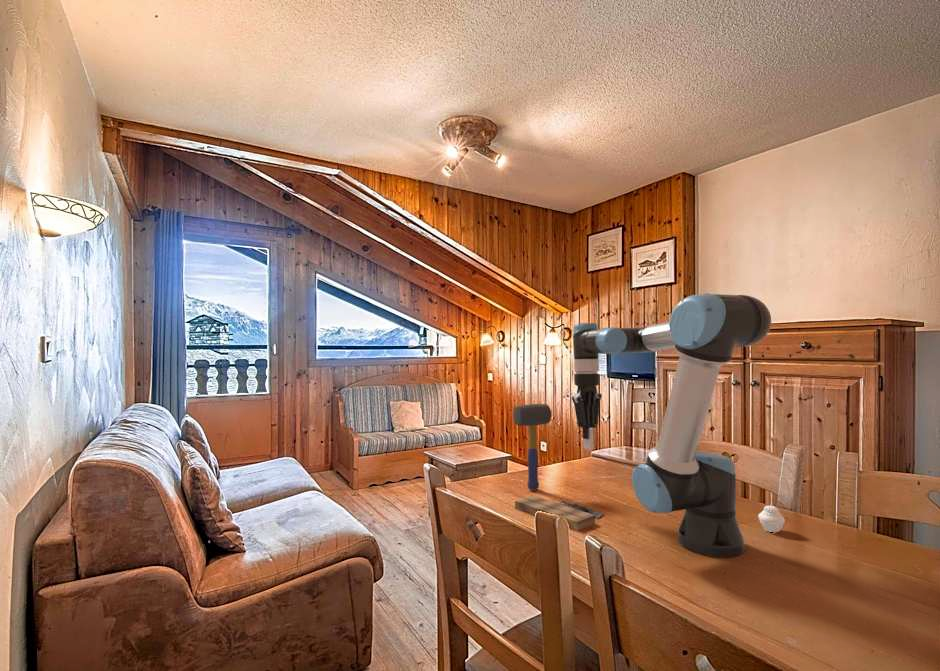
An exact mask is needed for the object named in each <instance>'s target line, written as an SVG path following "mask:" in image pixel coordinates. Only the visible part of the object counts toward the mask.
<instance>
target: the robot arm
mask: <svg viewBox="0 0 940 671" xmlns="http://www.w3.org/2000/svg"><path fill="white" fill-rule="evenodd" d="M771 325H772V316H771V312H770V310H769V308H768V307H767V306H766V305H765V303H763V301H761V300H760V299H758V298H756V297H754V296H750V295H745V294H720V293H719V294H717V293H713V294H712V293H702V294H701V293H700V294H693V295H692V294H691V295H690V296H686V297H684V298H683V299H682V300H681V301H679V302H678V303H677V304H676V305H675V307H674V308H673V310H672V311H671V314H670V316H669V321H667V322H666V321H665V322H660V323H656V324H652V325H646V326H641V327H613V326H612V327H609V326H607V327H603V328H602V327H601V328H599V327H598V324H597V323H596V322H581V323H575V324H574V325H573V328H572V329H573V330H572V331H573V333H572V334H573V335H572V343H573V345H572V348H573V362H574V363H573V366H574V367H573V370H574V372H575V373H574V375H573V378H574V379H573V380H574V385H575V386H577V390H576V395H573V396H572V397H571V400H572V403H573V404H574V412H575V416H576V423H577V427H579V428H581V429H582V441H583V442H582V443H583V444H582V445H583V450H589V451H591V450H594V448H595V447H594V446H595V445H594V435H595V434H594V432H595V431H594V428H597V427H598V424H599V415H600V408H601V407H600V406H601V404H600V403H601V400H602V397H603V396H602V393H599V392H598V389H597V386H599V385H600V374H599V373H598V372H599V371H600V363H599V362H600V361H599V354H600V355H601V354H603V355H615V354H639V353H641V354H651V353H656V352H658V351H664V350H671V349H672V350H673V349H674V350H675V352H676V353H677V354H678V356H679V358H678V362H677V365H676V366H677V367H676V370H675V375H674V378H673V381H672V382H673V383H672V385H671V386H672V387H671V390H670V395H669V397H668V398H669V399H668V400H667V405H666V408H665V409H666V410H665V413H664V417H663V421H662V424H661V429H660V434H659V437H658V441H657V444H656V446H653V447H652V448H650V449H649V451H648V452H647V457H646V460H645V463H640V464H638V465H636V466H635V467H634V469H633V470H632V475H631V484H632V488H633V491H634V494H635V496H636V498H637V500H638V502H639V503H640V504H641V506H643V507H644V508H645V509H646V510H647V511H649V512H650V513H653V514H668V513H673V512H678V511H682V510H684V512H683V513H684V514H683V516H682V519H681V522H680V525H679V528H678V531H677V532H678V533H677V539H678V540H677V541H678V542H679V544H680V545H681V546H683V547H684V548H685V549H687V550H689V551H691V552H694V553H697V554H699V555H700V554H701V555H705V556H710V557H718V558H731V557H737V556H740V555H742V554H743V553H745V539H744V536H743V534H742V532H741V529H740V526H739V523H738V520H737V517H736V516H737V515H736V511H737V509H736V508H737V507H736V506H737V504H736V502H737V501H736V493H737V492H736V490H737V489H736V487H737V486H736V481H737V480H736V479H737V478H736V477H737V474H736V469H735V468H736V466H735V462H734V460H733V459H732V458H730V457H728V456H725V455H722V454H717V453H714V452H707V451H701V450H698V449H699V448H698V447H699V444H700V441H701V436H702V434H703V429H704V426H705V422H706V419H707V415H708V412H709V409H710V405H711V402H712V399H713V396H714V391H715V388H716V384H717V380H718V376H719V374H720V371H721V367H722V366H724V365H727V364H729V363H730V362H731V361H732V357H733V353H734V351H735V350H734V349H735V348H741V347H749V346H754V345H756V344H757V343H759V342H762V341H763V339H765V337H767V335H768V334H769V332H770V329H771V327H772V326H771Z"/></svg>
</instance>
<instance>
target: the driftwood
mask: <svg viewBox="0 0 940 671" xmlns="http://www.w3.org/2000/svg"><path fill="white" fill-rule="evenodd" d="M561 502H562V503H564V504H566V505H567V507H571V508H574V509H577V510H580V511H583V512H586V513H589V514H592V515H595V519H597V520H598V519H599V518H600V517H601V516H604V513H602V512H601V511H598V510H596V509H593V508H590V507H586V506H582V505H579V503H578V504H577V503H571V502H567V501H565V500H561ZM562 503H561V504H562Z"/></svg>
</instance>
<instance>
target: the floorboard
mask: <svg viewBox="0 0 940 671" xmlns="http://www.w3.org/2000/svg"><path fill="white" fill-rule="evenodd" d="M514 509H515V510H519V511H521V512H523V513H526V514H530V515H532V516H534V517H536V516H535V513H536V512H537V511H542V512H546V513H550V514H555V515H558V516H561V517H563V518H565V519H566V520H567V522H568V524H569V528H568V529H570V528H571V530H573V529H574V531H577V532H578V531H580V530H583V529H585V528H588V527H590V526H592V525H595V524H596V520H595V519H596V518H595V515H592V514H589V513H586V512H583V511H580V510H577V509H574V508H571V507H568V506H565V505H563V504H562V503H557V502H556V501H555V502H554V501H552V500H549V499H546V498H542V497H539V496H535V495H530V496H526V497H522V498H518V499H516V500H514Z"/></svg>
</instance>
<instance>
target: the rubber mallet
mask: <svg viewBox="0 0 940 671" xmlns="http://www.w3.org/2000/svg"><path fill="white" fill-rule="evenodd" d="M552 414H553V413H552V409H551V408H550V406H549V405H548V404H546V403H529V404H522V405H516V406H515V407H514V408H513V411H512V419H513V422H514V424H515V425H516V426H518V427H519V426H520V427H522V426H523V427H526V426H527V427H528V449H527V459H526V460H527V468H528V469H527V470H528V474H527V475H528V476H527V477H528V478H527V479H528V480H527V487H528V490H529V491H534V492H535V491H538V489H539V486H540V483H539V479H538V478H539V477H538V476H539V475H538V468H539V455H538V448H537V426H540V425H541V426H542V425H545V424H549V423H550V422H551V420H552Z"/></svg>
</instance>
